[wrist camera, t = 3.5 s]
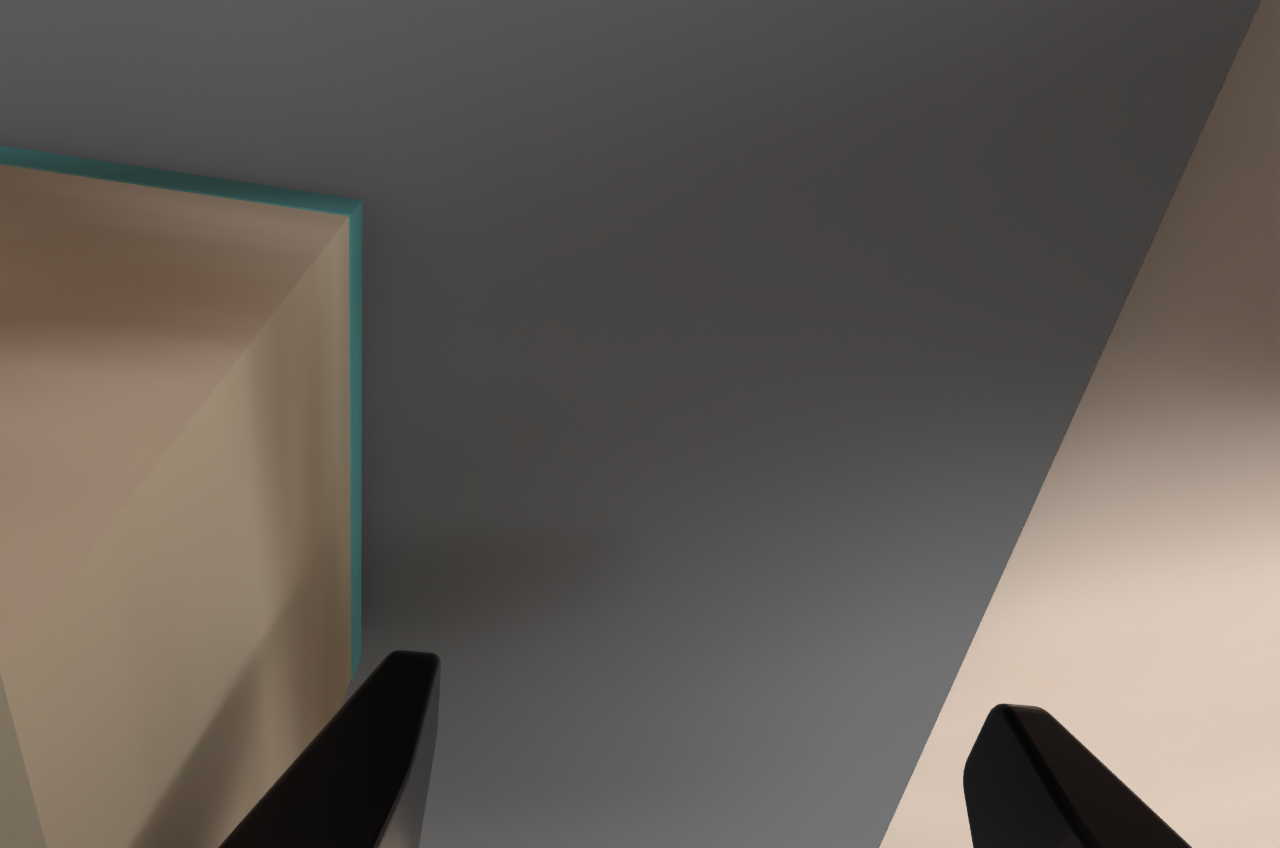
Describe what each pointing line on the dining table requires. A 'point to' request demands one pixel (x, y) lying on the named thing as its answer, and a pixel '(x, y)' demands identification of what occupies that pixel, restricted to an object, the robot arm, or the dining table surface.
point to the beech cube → (171, 495)
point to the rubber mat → (679, 349)
